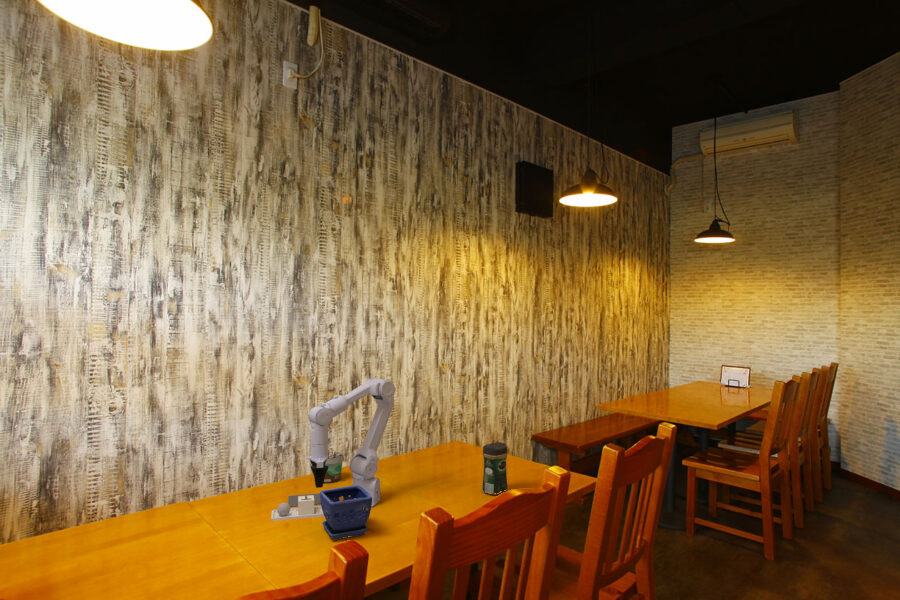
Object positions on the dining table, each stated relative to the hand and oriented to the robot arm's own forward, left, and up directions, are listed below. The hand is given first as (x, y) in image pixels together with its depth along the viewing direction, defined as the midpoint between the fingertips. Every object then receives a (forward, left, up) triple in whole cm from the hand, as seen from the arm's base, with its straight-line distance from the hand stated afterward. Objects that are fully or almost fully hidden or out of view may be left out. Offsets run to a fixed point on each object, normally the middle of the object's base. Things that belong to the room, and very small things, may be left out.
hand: (318, 483), depth 174 cm
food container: (+10, -34, -10) cm, 37 cm away
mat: (+10, -9, -10) cm, 17 cm away
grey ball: (+9, +6, -9) cm, 14 cm away
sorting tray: (+3, +2, -10) cm, 10 cm away
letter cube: (+3, +2, -9) cm, 10 cm away
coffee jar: (-54, -38, -10) cm, 67 cm away
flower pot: (-15, +12, -10) cm, 22 cm away
